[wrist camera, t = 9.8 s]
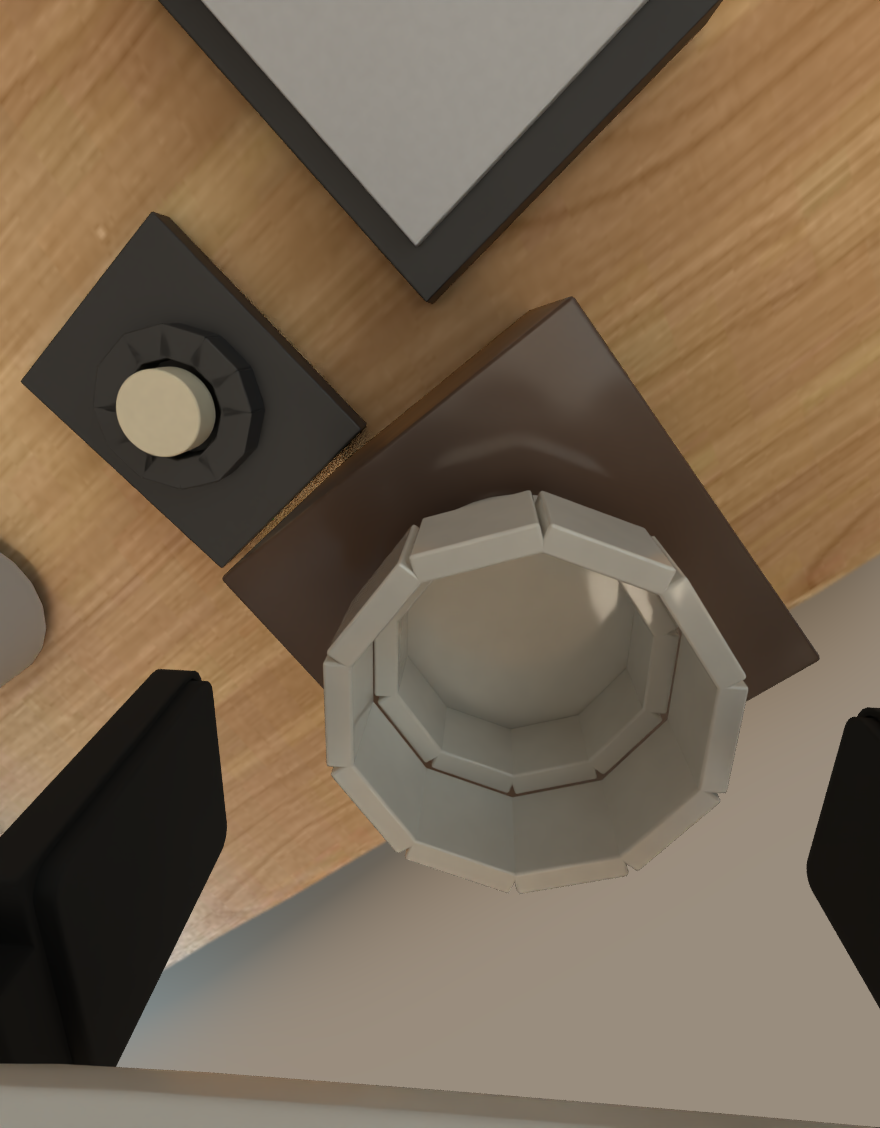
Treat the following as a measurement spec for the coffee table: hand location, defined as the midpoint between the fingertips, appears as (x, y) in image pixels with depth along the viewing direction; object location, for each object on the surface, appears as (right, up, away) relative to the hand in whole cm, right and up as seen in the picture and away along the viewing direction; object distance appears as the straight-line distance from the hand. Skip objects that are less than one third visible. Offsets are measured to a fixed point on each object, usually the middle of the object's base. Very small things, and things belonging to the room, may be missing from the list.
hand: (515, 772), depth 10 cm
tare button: (-11, +9, +16) cm, 22 cm away
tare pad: (-11, +10, +18) cm, 24 cm away
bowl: (+1, +2, +6) cm, 6 cm away
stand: (+2, +7, +19) cm, 20 cm away
